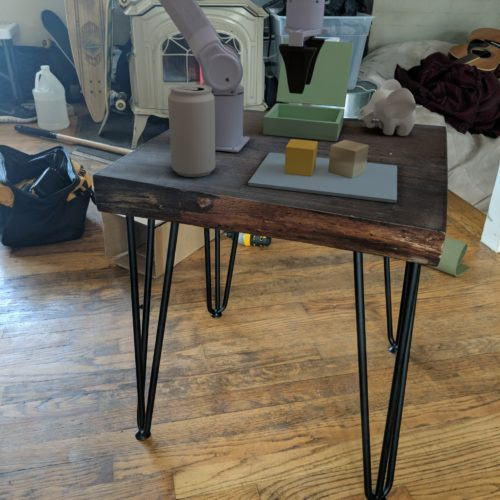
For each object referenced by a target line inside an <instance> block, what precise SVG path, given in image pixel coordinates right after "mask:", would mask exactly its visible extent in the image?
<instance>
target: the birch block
mask: <svg viewBox="0 0 500 500" xmlns="http://www.w3.org/2000/svg"><path fill="white" fill-rule="evenodd" d="M369 148H370V145H369V144H365V143H362V142H356V141H352V140H347V139H343V140H341V141H337V142H336V143H333V144H331V145H330V150H329V151H330V153H329V159H330V160H329V169H328V172H330V173H334V174H337V175H341V176H345V177H348V178H354V177H356V176H358V175H360V174H362V173H363V172H365V170H366V163H368V156H369Z"/></svg>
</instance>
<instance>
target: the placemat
mask: <svg viewBox="0 0 500 500" xmlns="http://www.w3.org/2000/svg"><path fill="white" fill-rule="evenodd" d="M285 155H286V153H281V152H271V151H270V152H269V153H268V154H267V155H266V157H265V158H264V160H263V161H262V162H261V163H260V165H259V166H258V168H257V169H256V170H255V172H254V173H253V175H252V176H251V178H250V179H249V180H248V182H247V186H250V187H258V188H259V187H260V188H265V189H273V190H274V189H275V190H283V191H291V192H300V193H306V194H307V193H308V194H314V195H315V194H317V195H324V196H334V197H341V198H349V199H358V200H367V201H374V202H382V203H391V204H397V201H398V165H396V164H395V165H394V164H384V163H375V162H367V163H366V170H365V172H363V173H362V174H360V175H358V176H356V177H354V178H348V177H345V176H341V175H337V174H334V173H330V172H328V169H329V160H330V157H329V158H326V157H319V156H317V157H316V167H315V170H314V172H313V174H312V176H304V175H295V174H286V173H284V171H285Z"/></svg>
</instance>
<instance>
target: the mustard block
mask: <svg viewBox="0 0 500 500" xmlns="http://www.w3.org/2000/svg"><path fill="white" fill-rule="evenodd" d="M318 144H319V142H318V141H317V140H316V141H315V140H308V139H307V140H306V139H298V138H291V139H290V140H289V141H288V143H287V144H286V146H285V154H286V155H285V171H284V173H286V174H295V175H304V176H312V174H313V172H314V170H315V167H316V157H318V156H317V155H318V146H319V145H318Z"/></svg>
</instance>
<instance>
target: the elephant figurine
mask: <svg viewBox="0 0 500 500" xmlns="http://www.w3.org/2000/svg"><path fill="white" fill-rule="evenodd" d="M416 104H417V103H416V100H415V98H414V95H413V94H412V92H411V91H410V90H409V89H408V88H406V87H402V85H401V84H400V82H399V81H398V80H397V79H395V78H390V79H388V80H385V81H383V82H382V84H381V85H380V87H379V89H376V91H374V92H373V94H372V95H371V97H370V100H369V101H368V103H367V104H366V105H364V106H362V107H361V108H360V109H359V110H357V111H356V112H355V113H354V115H358V114H359V113H361V112H362V116H361V117H360V118H358V121H360V120H361V121H362V122H363V123H364V125H365V126H366V127H367V128H369V129H373V128H375V127H376V125H377V124H378V128H379V129H381V130H382V134H384V135H385V136H393V135H394V132H395V131H396V135H397V136H399V137H407V136H409V134H410V133H411V131H412V130H413V128H414V126H415V123H416V118H417V114H416V110H419V109H420V108H423V105H416ZM374 119H376V120H378V123H377V124H376V123H375V122H374Z"/></svg>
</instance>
